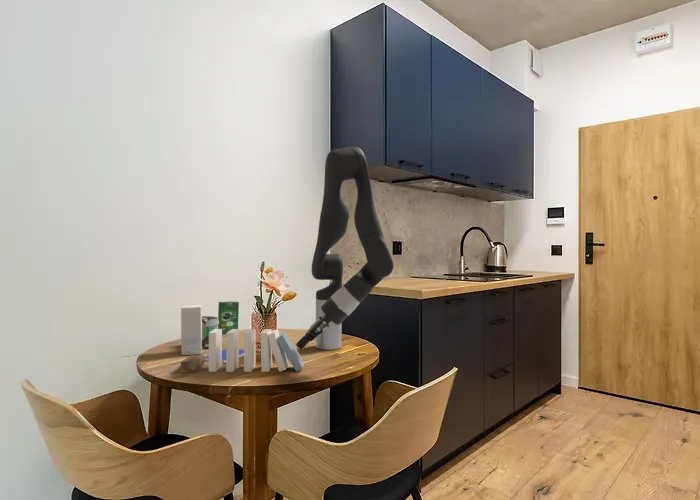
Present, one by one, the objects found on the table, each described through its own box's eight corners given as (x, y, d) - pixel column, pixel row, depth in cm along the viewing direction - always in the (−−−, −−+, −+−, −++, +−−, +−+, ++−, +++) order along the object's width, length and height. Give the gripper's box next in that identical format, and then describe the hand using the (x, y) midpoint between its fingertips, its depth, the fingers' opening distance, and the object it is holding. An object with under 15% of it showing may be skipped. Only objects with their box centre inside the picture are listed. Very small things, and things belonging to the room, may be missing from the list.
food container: (223, 347, 153) (224, 319, 153) (206, 349, 150) (206, 320, 150) (213, 341, 163) (213, 315, 163) (196, 343, 160) (196, 316, 160)
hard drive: (224, 359, 133) (247, 350, 145) (202, 356, 136) (226, 348, 147) (223, 364, 133) (246, 355, 145) (202, 361, 136) (226, 353, 147)
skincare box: (201, 354, 143) (201, 307, 143) (179, 355, 141) (180, 308, 141) (202, 349, 151) (202, 304, 151) (182, 350, 149) (182, 304, 149)
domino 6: (304, 362, 129) (285, 331, 129) (302, 368, 123) (282, 335, 123) (298, 366, 129) (279, 334, 129) (296, 371, 123) (276, 338, 123)
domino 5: (288, 364, 129) (277, 328, 129) (285, 369, 123) (274, 332, 123) (282, 366, 129) (271, 331, 129) (279, 371, 123) (267, 334, 123)
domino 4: (272, 365, 129) (271, 329, 129) (268, 371, 123) (267, 332, 123) (265, 366, 129) (264, 329, 129) (261, 371, 123) (260, 333, 123)
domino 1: (221, 366, 129) (222, 329, 129) (215, 371, 123) (215, 332, 123) (215, 366, 129) (215, 329, 129) (208, 371, 123) (208, 332, 123)
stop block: (204, 364, 130) (204, 354, 130) (195, 372, 122) (195, 361, 122) (190, 364, 130) (191, 354, 130) (180, 372, 122) (180, 361, 122)
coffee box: (236, 331, 184) (236, 300, 184) (238, 332, 181) (239, 301, 181) (217, 333, 179) (217, 301, 179) (219, 334, 177) (219, 302, 177)
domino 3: (255, 366, 129) (255, 329, 129) (251, 371, 123) (251, 333, 123) (248, 366, 129) (248, 329, 129) (243, 371, 123) (244, 332, 123)
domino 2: (238, 366, 129) (238, 329, 129) (233, 371, 123) (233, 332, 123) (231, 366, 129) (232, 329, 129) (226, 371, 123) (226, 332, 123)
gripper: (332, 293, 133) (292, 333, 133) (330, 298, 120) (286, 342, 120) (349, 311, 133) (309, 350, 133) (349, 317, 120) (305, 362, 120)
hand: (298, 347), depth 126 cm, fingers closed
